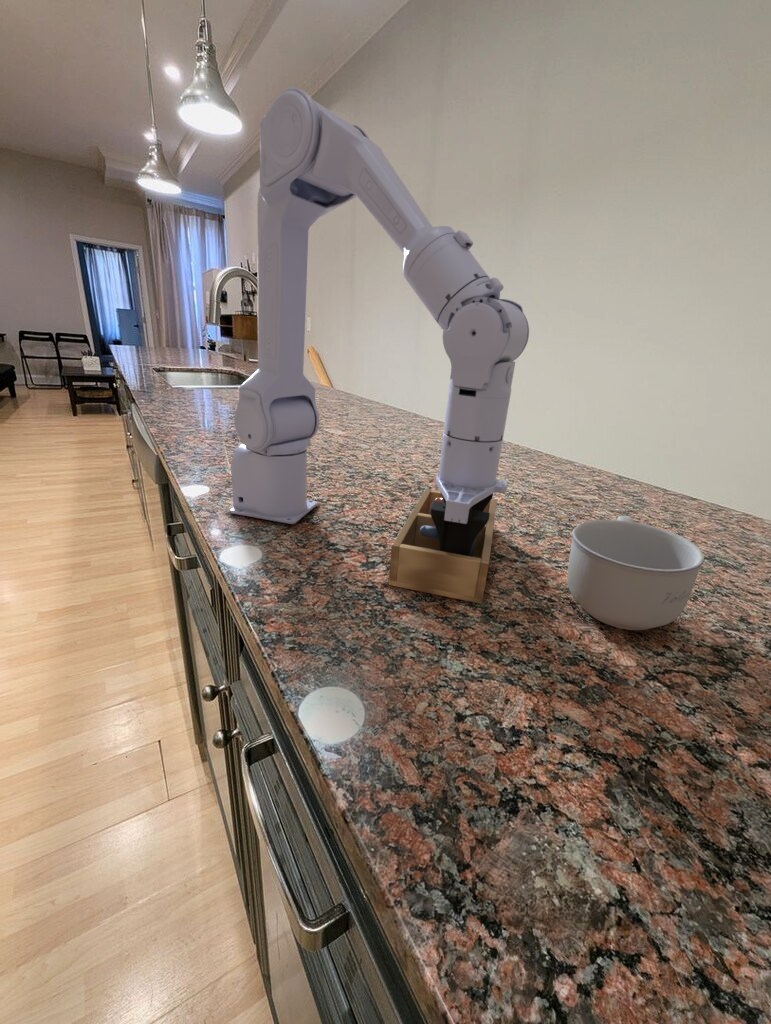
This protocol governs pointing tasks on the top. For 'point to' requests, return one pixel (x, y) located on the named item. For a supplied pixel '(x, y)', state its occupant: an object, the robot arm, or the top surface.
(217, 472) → the top surface
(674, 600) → the teacup
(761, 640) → the top surface
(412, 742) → the top surface
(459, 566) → the caddy
